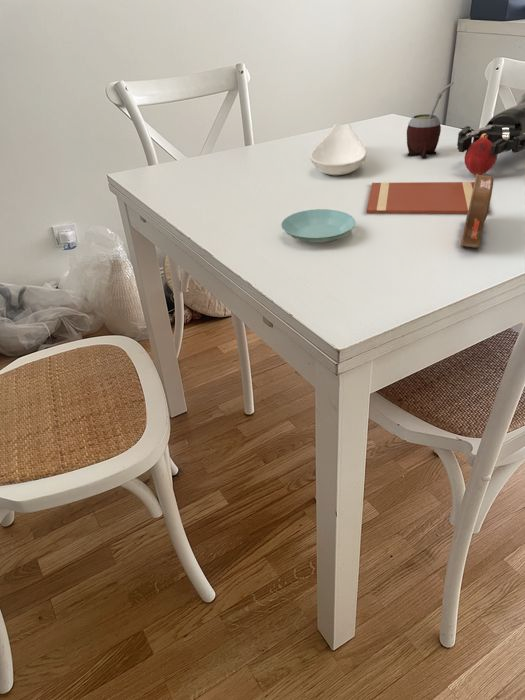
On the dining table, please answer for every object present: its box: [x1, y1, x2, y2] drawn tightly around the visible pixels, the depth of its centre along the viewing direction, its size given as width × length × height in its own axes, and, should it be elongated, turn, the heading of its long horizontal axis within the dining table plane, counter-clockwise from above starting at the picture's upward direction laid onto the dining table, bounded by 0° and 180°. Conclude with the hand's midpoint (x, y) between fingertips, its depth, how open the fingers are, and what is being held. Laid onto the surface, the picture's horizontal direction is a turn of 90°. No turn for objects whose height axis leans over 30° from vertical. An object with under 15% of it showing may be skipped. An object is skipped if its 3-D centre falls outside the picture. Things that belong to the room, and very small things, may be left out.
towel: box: [365, 181, 490, 215], centre depth 97 cm, size 20×15×1 cm
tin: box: [460, 174, 494, 249], centre depth 80 cm, size 15×3×8 cm, turn 159°
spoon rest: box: [309, 123, 368, 176], centre depth 118 cm, size 24×12×7 cm, turn 170°
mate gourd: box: [406, 81, 454, 160], centre depth 116 cm, size 8×8×15 cm
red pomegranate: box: [464, 133, 498, 177], centre depth 103 cm, size 6×6×8 cm
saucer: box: [280, 208, 356, 244], centre depth 87 cm, size 12×12×2 cm
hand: (476, 148), depth 100 cm, fingers closed on red pomegranate, 5 cm apart
